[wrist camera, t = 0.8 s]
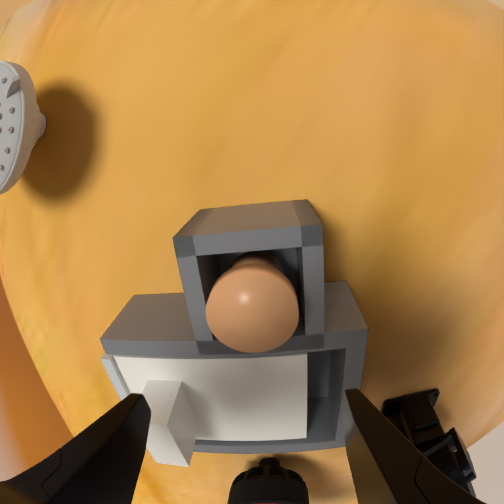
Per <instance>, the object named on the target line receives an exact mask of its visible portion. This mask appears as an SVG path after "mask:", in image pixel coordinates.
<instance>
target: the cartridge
mask: <svg viewBox="0 0 504 504" xmlns="http://www.w3.org/2000/svg"><path fill="white" fill-rule="evenodd" d="M101 361H102V363H103V365H104V368H105V370H106V372H107V374H108V376H109V378H110V380H111V382H112V384H113V386H114V388H115V390H116V392H117V394H118V395H119V397H120V399H121V401H122V400H123V399H124V398H125V397H127V396H128V395H129V394H131V393H140V394H143V395H144V397H145V399H146V401H147V403H148V405H149V407H150V409H151V420H150V426H149V432H148V438H147V444H146V448H147V449H148V451H149V452H150V454H151V455H152V457H153V458H154V460H155V461H156V463H163V464H170V465H178V466H187V467H189V465H190V461H191V457H192V452H193V448H194V444H195V440H196V439H200V440H222V441H265V440H287V439H301V438H306V435H307V352H304V353H293V354H279V355H263V356H241V357H152V356H130V355H114V354H106V353H104V354H103V356H102V357H101Z"/></svg>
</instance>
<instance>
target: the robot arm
mask: <svg viewBox="0 0 504 504" xmlns="http://www.w3.org/2000/svg"><path fill="white" fill-rule="evenodd" d="M439 393H440V392H439V390H438V389H433V390H429V391H426V392H422V393H418V394H413V395H409V396H405V397H400V398H395V399H390V400H387V401H385V402H384V403H383V405H382V409H381V412H380V411H379V410H378V409H377V408H376V407H375V406H374V405H373V404H372V403H371V402H370V401H369V399H368V398H367V397H366V396H365V395H364V394H363V393H362V392H361V391H360V390H359V389H357V388H352V389H346V390H344V393H343V401H342V417H343V425H344V434H345V443H346V451H347V456H348V461H349V465H350V469H351V473H352V478H353V482H354V486H355V490H356V495H357V499H358V504H486V503H484V502H482V501H480V500H478V499H477V498H476V495H475V492H474V489H473V486H472V484H471V481H472V480H474V479H476V474H475V471H474V468H473V465H472V461H471V458H470V455H469V453H468V451H467V449H466V447H465V445H464V442H463V440H462V439H461V437H460V436H459V434H458V433H457V431H456V430H455V428H454V427H453V428H451V429H450V430H449V431H448V432H447V433H444V430H443V428H442V426H441V424H440V422H439V421H440V420H439V418H438V416H437V414H436V411H435V409H434V406H435V403H436V401H437V398H438V396H439ZM150 420H151V409H150V407H149V405H148V403H147V401H146V399H145V397H144V395H143V394H140V393H131V394H129V395H128V396H127V397H125V398H124V399H123V400H122V401H120V402H119V403H118V404H117V405H115V406H114V407H113V408H111V409H110V410H109V411H108V412H106V413H105V414H104V415H103V416H101V417H100V418H99V419H97V420H96V421H95V422H94V423H92V424H91V425H90V426H88V427H87V428H86V429H85V430H83V431H82V432H81V433H79V434H78V435H77V436H75V437H74V438H73V439H71V440H70V441H69V442H68V443H66V444H65V445H64V446H62V448H59V449H58V450H57V451H56V452H54V453H53V454H51V455H50V456H49V457H47V458H46V459H44V460H43V461H41V462H39V463H38V464H36V465H35V466H33V467H31V468H29V469H28V470H26V471H24V472H22V473H21V474H19V475H17V476H15V477H13V478H11V479H9V480H6V481H2V482H0V504H131V502H132V499H133V495H134V491H135V487H136V483H137V480H138V476H139V473H140V469H141V465H142V462H143V458H144V454H145V450H146V444H147V438H148V432H149V426H150ZM456 450H457V451H456ZM454 451H456V452H454Z"/></svg>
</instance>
